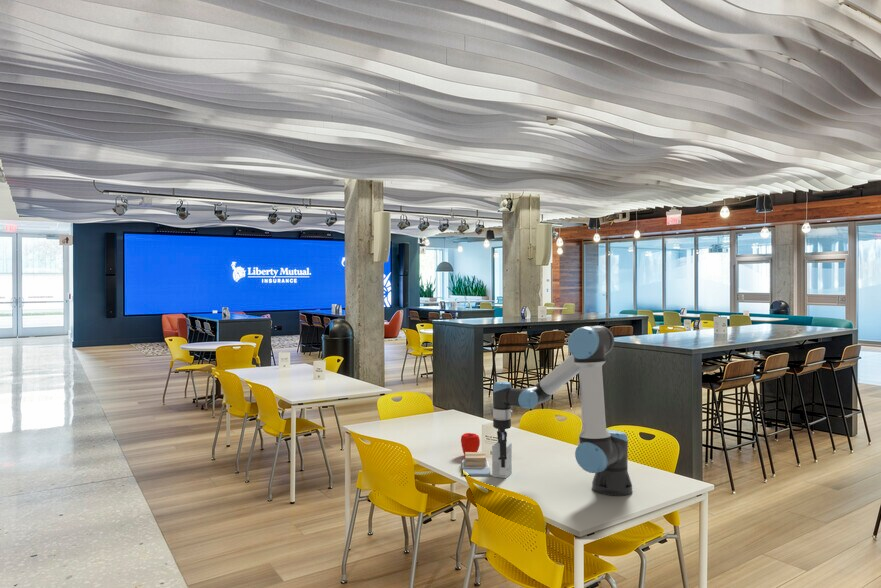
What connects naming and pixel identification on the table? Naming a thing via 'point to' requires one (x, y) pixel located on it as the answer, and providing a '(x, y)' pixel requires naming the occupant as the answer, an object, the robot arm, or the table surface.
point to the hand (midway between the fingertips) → (501, 470)
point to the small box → (497, 462)
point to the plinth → (475, 459)
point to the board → (477, 470)
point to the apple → (470, 442)
